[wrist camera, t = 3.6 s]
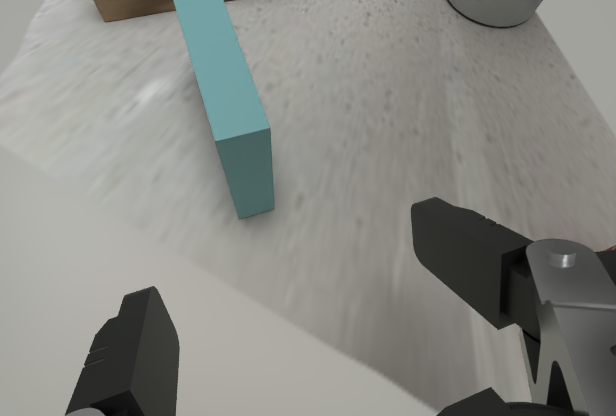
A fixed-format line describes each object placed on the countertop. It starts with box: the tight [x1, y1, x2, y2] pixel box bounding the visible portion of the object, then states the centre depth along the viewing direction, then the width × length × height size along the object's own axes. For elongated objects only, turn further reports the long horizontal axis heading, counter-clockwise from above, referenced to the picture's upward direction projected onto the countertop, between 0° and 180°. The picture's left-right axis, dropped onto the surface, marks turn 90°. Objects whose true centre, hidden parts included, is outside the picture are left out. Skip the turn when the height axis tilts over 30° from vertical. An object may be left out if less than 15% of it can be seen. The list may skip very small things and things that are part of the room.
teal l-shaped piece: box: [173, 0, 274, 219], centre depth 22 cm, size 14×2×10 cm, turn 19°
